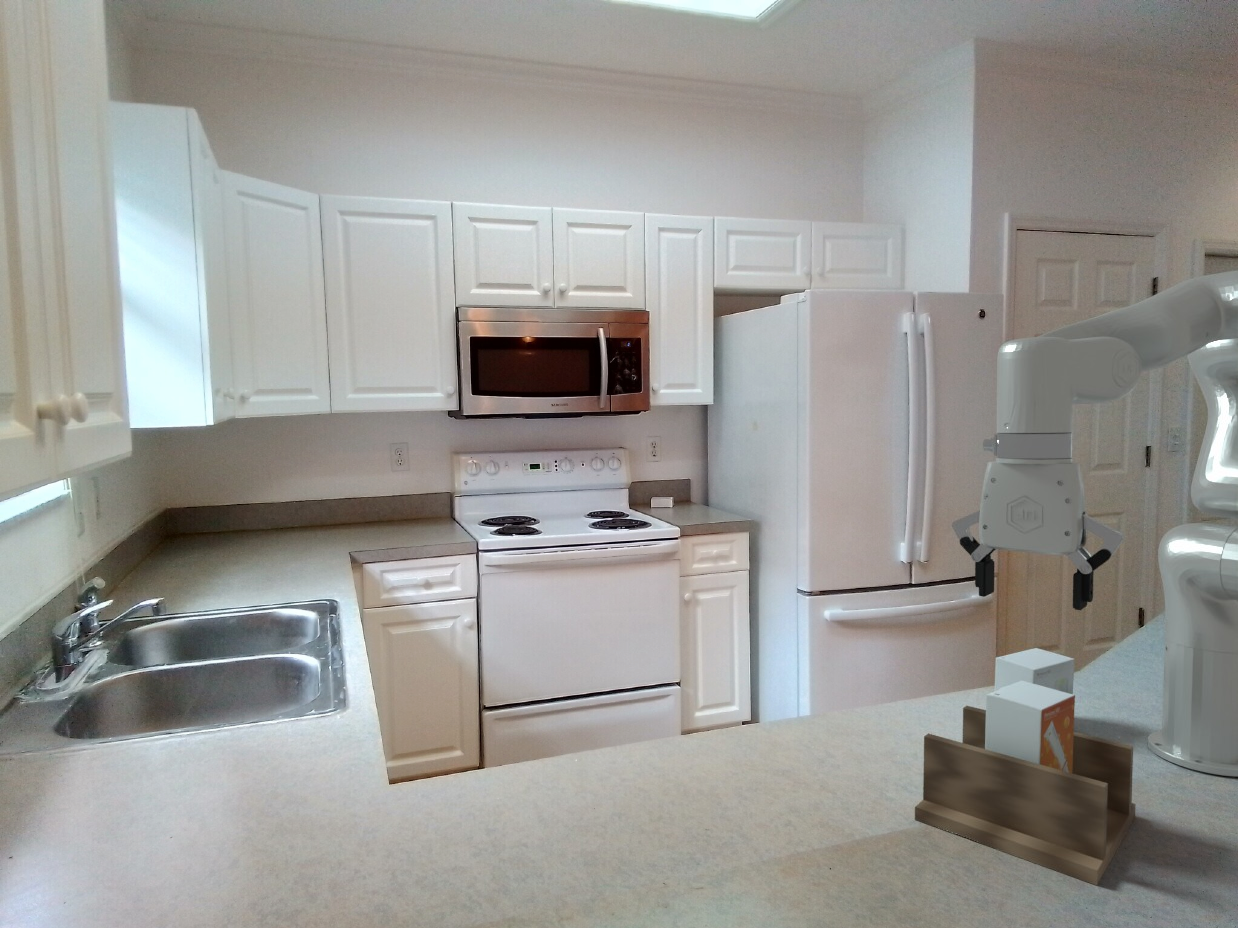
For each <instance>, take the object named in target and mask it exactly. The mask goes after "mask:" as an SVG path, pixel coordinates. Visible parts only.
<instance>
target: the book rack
mask: <svg viewBox="0 0 1238 928" xmlns="http://www.w3.org/2000/svg"><path fill="white" fill-rule="evenodd" d="M985 730H986V709H983V708H982V709H981V708H978V707H974V706H970V705H965V706H964V707H963V708H962V742H961V741H957V740H953V739H949V738H946V737H942V736H939V735H935V734H932V733H930V732H929V733H927V734H925V735H924V737H923V786H922V787H923V790H922V791H923V793H922V797H923V799H922V800H921V801H920V802H919V803H917V804H916V805H915V806H914V820H915V821H918V822H920V823H923V824H926V825H928V826H931V827H934V826H935V827H934V828H936V827H939V828H941V829H940V830H942V829H944V830H943V831H945V830H948V831H949V832H948V833H950V832H953V833H957V834H958V835H957V836H959V835H961V836H964V837H966V838H965V839H967V838H970V839H972V840H975V841H978V842H979V844H981V843H982V844H981V845H983V844H985V845H984V846H986V845H987V847H989V846H990V847H989V848H992V847H993V848H992V849H994V850H997V849H998V851H1000V850H1001V851H1000V852H1002V853H1006V854H1008V855H1012V856H1015V857H1017V858H1020V859H1023V860H1024V861H1028V862H1031V863H1034V864H1037V865H1039V866H1042V867H1045V868H1047V869H1050V870H1052V871H1056V872H1058V873H1060V874H1064V875H1067V876H1068V877H1069V876H1070V877H1072V878H1075V879H1078V880H1081V881H1083V882H1087V883H1088V884H1089V883H1090V884H1092V885H1095V886H1098V884H1099V882H1100V881H1101V879H1102V877H1103V876H1104V874H1105V872H1106V870H1107V868H1108V867H1109V865H1110V863H1111V861H1112V860H1113V857H1114V856H1115V854H1116V852H1117V850H1118V848H1119V847H1120V846H1121V843H1122V841H1123V840H1124V838H1125V836H1126V834H1127V832H1128V831H1129V829H1130V827H1131V825H1132V823H1133V822H1134V820H1135V818H1136V808H1137V807H1136V803H1133V802H1132V800H1133V768H1134V767H1133V766H1134V764H1133V763H1134V762H1133V761H1134V746H1133V745H1131V744H1126V743H1122V742H1117V741H1113V740H1111V739H1110V740H1109V739H1105V738H1101V737H1098V736H1094V735H1089V734H1085V733H1082V732H1081V733H1080V732H1077V731H1074V738H1073V767H1072V773H1069V772H1065V771H1062V770H1058V769H1055V768H1051V767H1047V766H1044V765H1040V764H1037V763H1033V762H1029V761H1026V760H1022V759H1019V758H1015V757H1011V756H1008V755H1004V754H1001V753H997V752H993V751H990V750H986V749H985ZM939 828H938V829H939ZM953 833H952V834H953ZM961 836H960V837H961ZM964 837H963V838H964ZM970 839H969V840H970ZM972 840H971V841H972ZM975 841H974V842H975ZM978 842H977V843H978Z"/></svg>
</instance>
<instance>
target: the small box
mask: <svg viewBox="0 0 1238 928" xmlns="http://www.w3.org/2000/svg"><path fill="white" fill-rule="evenodd" d="M985 699H986V700H985V710H986V730H985V749H986V750H990V751H993V752H997V753H1001V754H1004V755H1008V756H1011V757H1015V758H1019V759H1022V760H1026V761H1029V762H1033V763H1037V764H1040V765H1044V766H1047V767H1051V768H1055V769H1058V770H1062V771H1065V772H1069V773H1072V767H1073V738H1074V732H1075V707H1076V706H1075V704H1076V703H1075V700H1076V695H1075V694H1074V693H1073V694H1069V693H1066V692H1062V691H1058V690H1055V689H1051V688H1047V687H1044V686H1040V685H1036V684H1033V683H1029V682H1025V681H1019V682H1016V683H1014V684H1011V685H1008V686H1004V687H1002V688H1000V689H998V690H996V691H991V692H988V693H987V694H986V697H985Z"/></svg>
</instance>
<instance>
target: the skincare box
mask: <svg viewBox="0 0 1238 928" xmlns="http://www.w3.org/2000/svg"><path fill="white" fill-rule="evenodd" d="M994 667H995V668H994V691H996V690H998V689H1000V688H1002V687H1004V686H1008V685H1011V684H1014V683H1016V682H1019V681H1025V682H1029V683H1033V684H1036V685H1040V686H1044V687H1047V688H1051V689H1055V690H1058V691H1062V692H1066V693H1069V694H1073V695H1074V680H1075V679H1074V677H1075V676H1074V673H1075V658H1072V657H1069V656H1066V655H1062V654H1059V653H1056V652H1051V651H1048V650H1045V649H1041V648H1038V647H1034V648H1030V649H1026V650H1022V651H1019V652H1018V651H1017V652H1014V653H1009V654H1006V655H1002V656H997V657H995V665H994ZM994 691H993V692H994Z"/></svg>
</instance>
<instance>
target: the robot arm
mask: <svg viewBox="0 0 1238 928" xmlns="http://www.w3.org/2000/svg"><path fill="white" fill-rule="evenodd" d="M1185 357H1186V358H1187V361H1188V364H1189V367H1190V369H1191V371H1192V373H1193V375H1194V377H1195V379H1196V381H1197V384H1198V386H1199V388H1200V390H1201V392H1202V395H1203V397H1204V400H1205V403H1206V407H1207V422H1206V427H1205V432H1204V435H1203V439H1202V443H1201V447H1200V449H1199V450H1200V451H1199V454H1198V458H1197V462H1196V465H1195V469H1194V472H1193V476H1192V479H1191V481H1192V482H1191V488H1190V496H1191V497H1190V498H1191V501H1192V504H1193V506H1195V508H1196V509H1197V510H1199V511H1200V512H1202V513H1204V514H1207V515H1210V516H1213V517H1218V518H1225V519H1232V520H1233V519H1234V520H1238V269H1237V270H1231V271H1230V270H1229V271H1225V272H1219V273H1218V272H1217V273H1212V274H1207V275H1201V276H1198V277H1194V278H1193V277H1192V278H1190V279H1187V280H1184V281H1182V282H1179V283H1178V284H1176V285H1173V286H1171V287H1168V288H1166V289H1165V290H1163V291H1161V292H1158V293H1156V294H1154V295H1151V296H1150V297H1148V298H1146V299H1143V300H1141V301H1139V302H1137V303H1134V304H1130V305H1129V306H1125V307H1121V308H1118V309H1114V310H1112V311H1109V312H1106V313H1103V314H1100V315H1097V316H1095V317H1091V318H1087V319H1085V320H1081V321H1078V322H1074V323H1072V324H1068V325H1065V326H1062V327H1060V328H1057V329H1053V330H1051V331H1047V332H1046V333H1043V334H1041V335H1038V336H1036V337H1035V336H1034V337H1023V338H1016V339H1011V340H1009V341H1006V342H1004V343H1003V344H1002V345H1001V346H1000V347H999V348H998V351H997V361H996V364H997V365H996V433H994V436H993V437H992V438H990V439H989V438H985V439H984V440H983V444H982V448H983V451H988V452H989V451H990V452H992V453H993V456H994V457H995V460H993V461H992V460H991V461H987V464H986V469H985V472H984V478H983V483H982V484H983V485H982V489H981V497H980V498H981V499H980V507H979V508H980V509H979V510H978V511H975V512H973V513H970V514H968V515H966V516H963V517H961V518H959V519H956V520H954V521H953V522H952V523H951V527H952V529H953V531H954V533H955V535H956V537H957V539H959V544H960V546H961V548H963V549H964V550H965V551H966V553H968V555H970V558H971V560H972V561H973V562H975V563H974V569H975V570H974V587H976V588H978V596H979V597H983V598H984V597H988V596H989V595H991V594H993V593H994V591H995V561H994V559H992V554H993V553H994V552H996V551H997V550H1000V551H1001V550H1002V551H1011V552H1019V553H1020V552H1021V553H1031V554H1041V555H1042V554H1043V555H1051V556H1052V555H1054V556H1066V557H1067V558H1068V559H1069V560H1070V561H1071V563H1072V564H1073V565H1074V566H1075V567H1076V572H1074V573H1073V575H1072V609H1074V610H1076V611H1082V610H1083V609H1085V608H1086V607H1087V606H1088V603H1092V602H1093V599H1094V571H1095V570H1096V569H1098V568H1100V567H1101V566H1102V565H1104V564H1105V563H1106V562H1107V561H1109V560H1110V559H1112V557H1114V554H1115V553H1116V552H1117V551H1118V549H1119V547H1120V546H1121V544H1122V543H1123V541H1124V540H1125V535H1124V533H1123V532H1121V531H1119V530H1117V529H1115V528H1113V527H1112V526H1109V525H1108V524H1105V523H1103V522H1102V521H1100V520H1098V519H1095V518H1094V517H1093V516H1090V515H1088V514H1087V505H1086V498H1085V495H1086V493H1085V485H1084V480H1083V474H1082V470H1081V467H1080V463H1079V462H1076V461H1073V455H1074V454H1073V452H1074V449H1073V448H1074V446H1073V444H1074V405H1094V404H1095V405H1096V404H1097V405H1098V404H1107V403H1111V402H1116V401H1119V400H1122V398H1124V397H1126V396H1128V395H1130V393H1131V392H1133V390H1135V388H1136V387H1137V386H1138V384H1139V382H1140V379H1141V376H1142V373H1144V372H1148V371H1152V370H1156V369H1157V370H1158V369H1161V368H1164V367H1167V366H1170V365H1172V364H1174V363H1176V362H1178V361H1179V360H1181V359H1184V358H1185ZM977 524H978V538H979V539H978V540H977V539H976V538H975V537H973V535H972V534H971V533H972V532H971V530H970V528H971V527H972V526H975V525H977ZM1088 532H1089V533H1092V534H1094V535H1095V536H1097V537H1099V538H1101V539H1102V540H1103V543H1102V544H1101V547H1100V548H1099V550H1098V551H1097V552H1095V553H1094V554H1093V555H1091V553H1090V552H1089V551H1088V550H1087V549H1086V548H1085V546H1086V543H1087V539H1088V538H1087V537H1088V534H1087V533H1088ZM978 541H979V542H978ZM1157 555H1158V556H1157V560H1158V561H1157V562H1158V567H1159V573H1160V576H1161V581H1162V588H1163V589H1162V590H1163V595H1164V612H1165V614H1164V615H1165V616H1164V620H1165V621H1164V649H1163V650H1164V654H1163V659H1164V660H1163V680H1162V681H1163V683H1162V684H1163V685H1162V686H1163V689H1162V715H1161V716H1162V717H1161V718H1162V720H1161V723H1162V724H1161V730H1158V731H1155V732H1152V733H1150V734H1149V735H1148V737H1147V747H1148V748H1149V750H1150V751H1151V752H1153V753H1154V754H1155V755H1157V756H1158V757H1160V758H1162V759H1164V760H1166V761H1168V762H1169V763H1173V764H1176V765H1178V766H1181V767H1184V768H1186V769H1190V770H1193V771H1198V772H1202V773H1205V774H1212V775H1219V776H1224V777H1225V776H1226V777H1233V778H1234V777H1237V778H1238V525H1228V524H1220V523H1218V524H1217V523H1208V522H1205V523H1204V522H1194V523H1192V522H1191V523H1184V524H1180V525H1177V526H1175V527H1173V528H1171V529H1169V530H1168V531H1167V532H1166V533H1165V534H1164V535H1163V537H1162V538H1161V540H1160V542H1159V545H1158V551H1157Z"/></svg>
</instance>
